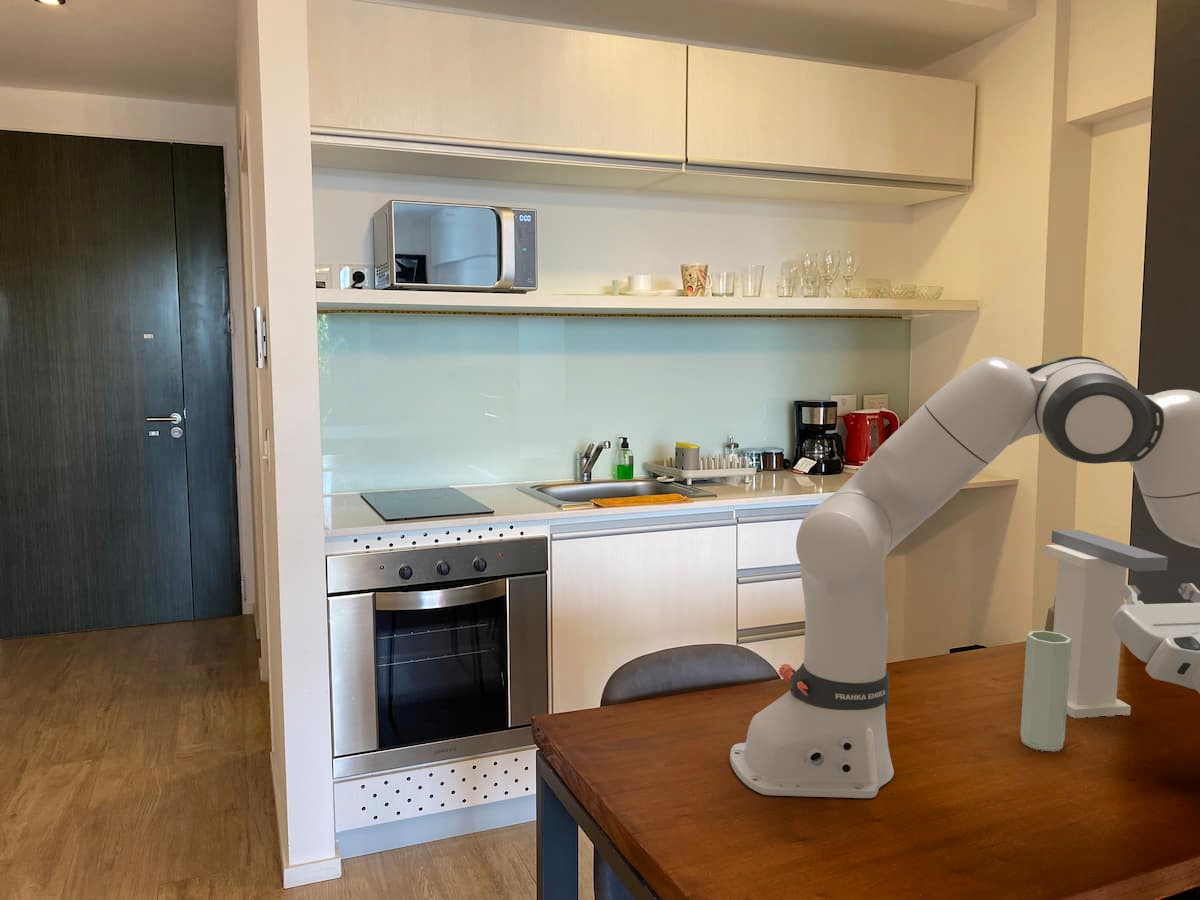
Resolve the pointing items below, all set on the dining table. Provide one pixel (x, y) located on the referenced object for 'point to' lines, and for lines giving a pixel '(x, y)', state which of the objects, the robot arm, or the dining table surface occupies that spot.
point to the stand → (1089, 630)
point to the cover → (1110, 550)
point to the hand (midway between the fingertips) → (1155, 587)
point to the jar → (1045, 690)
